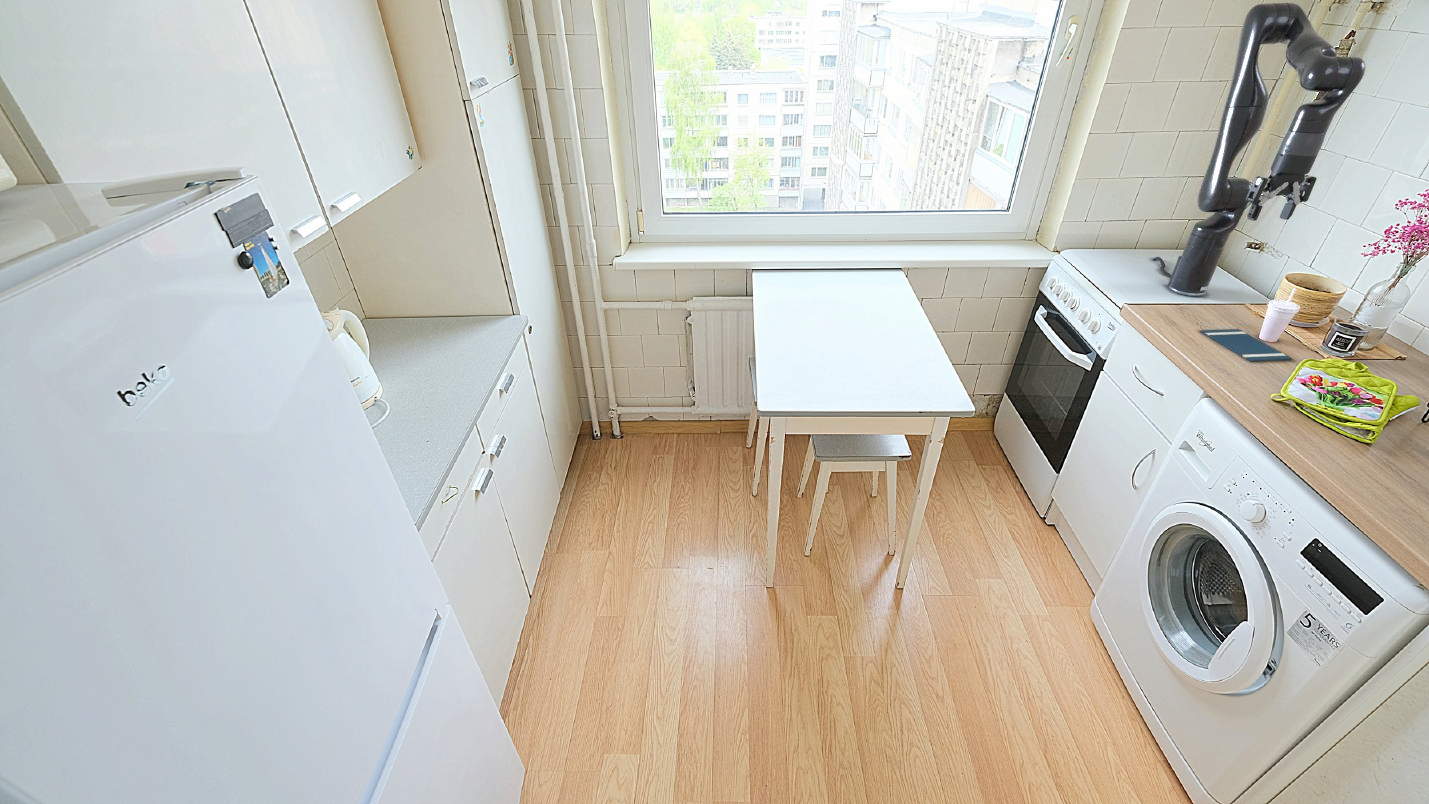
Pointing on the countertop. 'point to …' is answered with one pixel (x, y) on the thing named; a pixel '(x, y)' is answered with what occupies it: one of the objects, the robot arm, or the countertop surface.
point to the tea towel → (1245, 345)
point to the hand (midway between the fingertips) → (1267, 219)
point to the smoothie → (1278, 318)
